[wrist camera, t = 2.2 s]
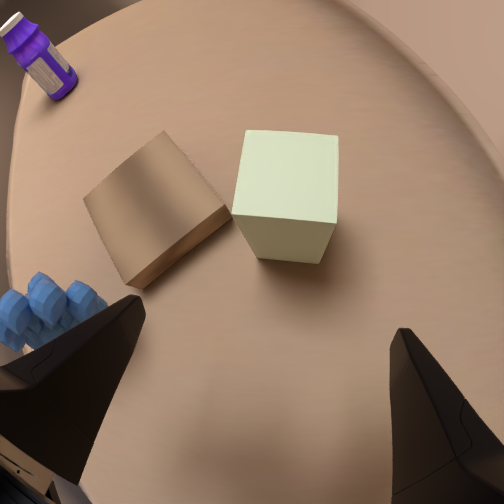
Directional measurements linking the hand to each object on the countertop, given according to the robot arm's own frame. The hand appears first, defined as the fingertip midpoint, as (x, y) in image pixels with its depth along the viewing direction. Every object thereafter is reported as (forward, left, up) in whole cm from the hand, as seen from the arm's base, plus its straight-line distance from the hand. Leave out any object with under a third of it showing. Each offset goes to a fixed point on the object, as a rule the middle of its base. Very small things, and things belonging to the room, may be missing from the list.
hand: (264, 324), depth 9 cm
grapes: (-14, +11, -14) cm, 23 cm away
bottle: (-5, +47, -14) cm, 49 cm away
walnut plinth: (-3, +14, -13) cm, 20 cm away
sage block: (+5, +5, -13) cm, 15 cm away
